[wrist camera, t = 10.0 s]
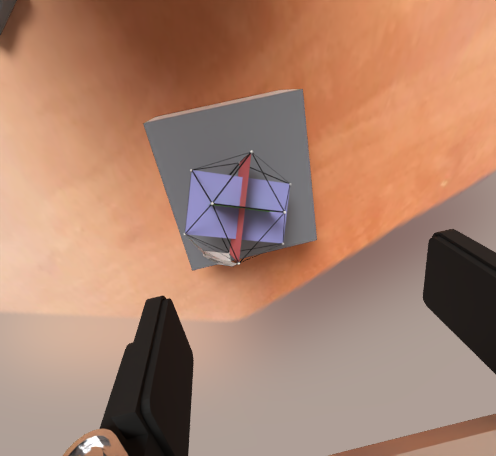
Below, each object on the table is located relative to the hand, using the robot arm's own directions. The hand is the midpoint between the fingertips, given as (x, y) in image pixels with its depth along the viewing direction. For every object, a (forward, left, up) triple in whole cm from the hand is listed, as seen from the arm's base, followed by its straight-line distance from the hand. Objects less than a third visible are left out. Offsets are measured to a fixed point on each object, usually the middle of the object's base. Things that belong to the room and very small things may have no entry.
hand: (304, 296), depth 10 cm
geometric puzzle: (+1, 0, -13) cm, 13 cm away
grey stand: (+1, 0, -19) cm, 19 cm away
